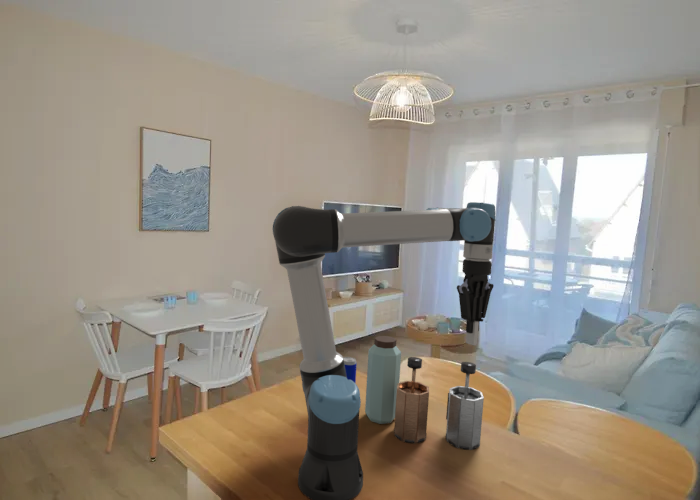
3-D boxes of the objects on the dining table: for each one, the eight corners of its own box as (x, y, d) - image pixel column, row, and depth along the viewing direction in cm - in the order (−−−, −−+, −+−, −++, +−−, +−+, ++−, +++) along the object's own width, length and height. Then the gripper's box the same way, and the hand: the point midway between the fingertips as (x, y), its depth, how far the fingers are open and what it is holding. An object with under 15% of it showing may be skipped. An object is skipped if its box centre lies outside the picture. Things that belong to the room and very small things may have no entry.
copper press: (409, 446, 113) (412, 397, 111) (384, 429, 121) (387, 383, 120) (433, 437, 118) (436, 390, 117) (408, 421, 126) (411, 377, 125)
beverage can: (336, 401, 138) (338, 357, 136) (350, 398, 140) (352, 355, 139) (342, 407, 133) (344, 362, 132) (356, 405, 135) (359, 361, 134)
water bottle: (396, 411, 133) (401, 335, 130) (397, 427, 123) (402, 345, 121) (365, 408, 134) (370, 333, 131) (363, 423, 124) (368, 342, 122)
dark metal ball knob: (467, 408, 112) (470, 370, 111) (448, 398, 117) (451, 362, 116) (482, 402, 115) (485, 366, 115) (464, 393, 121) (466, 358, 120)
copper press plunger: (412, 402, 113) (414, 365, 112) (396, 393, 119) (398, 357, 118) (429, 397, 117) (431, 361, 116) (412, 388, 123) (415, 354, 122)
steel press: (464, 453, 111) (468, 403, 110) (436, 435, 119) (439, 388, 118) (486, 443, 116) (490, 395, 115) (458, 427, 125) (461, 382, 123)
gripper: (472, 261, 105) (466, 351, 108) (504, 260, 113) (497, 344, 115) (450, 258, 112) (445, 343, 114) (481, 257, 119) (475, 336, 121)
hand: (471, 343), depth 114 cm, fingers closed
